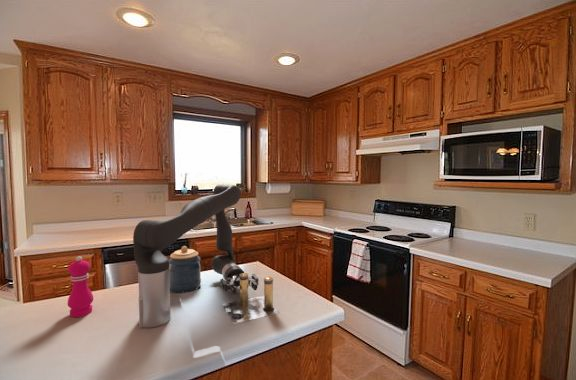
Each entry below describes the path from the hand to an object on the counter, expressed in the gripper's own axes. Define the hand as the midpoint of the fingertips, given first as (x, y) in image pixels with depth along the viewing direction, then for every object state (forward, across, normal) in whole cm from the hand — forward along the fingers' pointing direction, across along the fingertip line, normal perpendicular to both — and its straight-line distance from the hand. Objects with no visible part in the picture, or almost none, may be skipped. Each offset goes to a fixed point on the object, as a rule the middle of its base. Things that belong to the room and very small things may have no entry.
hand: (245, 289), depth 100 cm
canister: (-31, -17, +8) cm, 36 cm away
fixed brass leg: (+5, +6, +6) cm, 10 cm away
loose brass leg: (-2, 0, +6) cm, 7 cm away
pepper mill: (-23, -52, +8) cm, 57 cm away
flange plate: (+2, +1, +8) cm, 8 cm away
